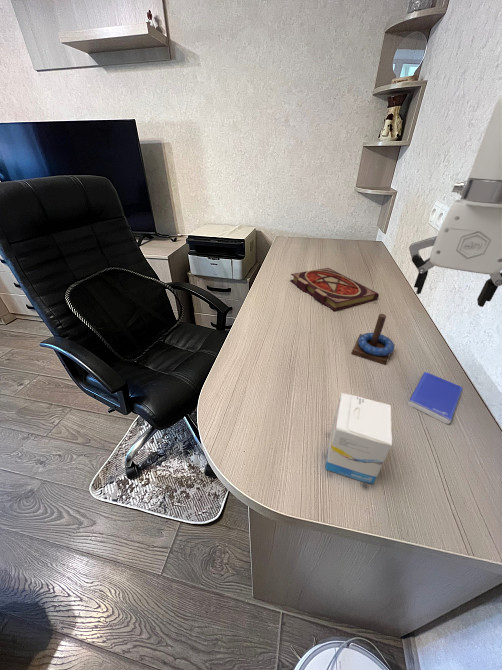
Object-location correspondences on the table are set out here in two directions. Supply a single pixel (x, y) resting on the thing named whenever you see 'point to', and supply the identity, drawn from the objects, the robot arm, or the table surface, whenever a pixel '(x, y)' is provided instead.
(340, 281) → the book
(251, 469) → the table surface
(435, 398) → the hard drive
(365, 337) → the blue teething ring
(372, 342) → the stand
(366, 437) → the ink box
